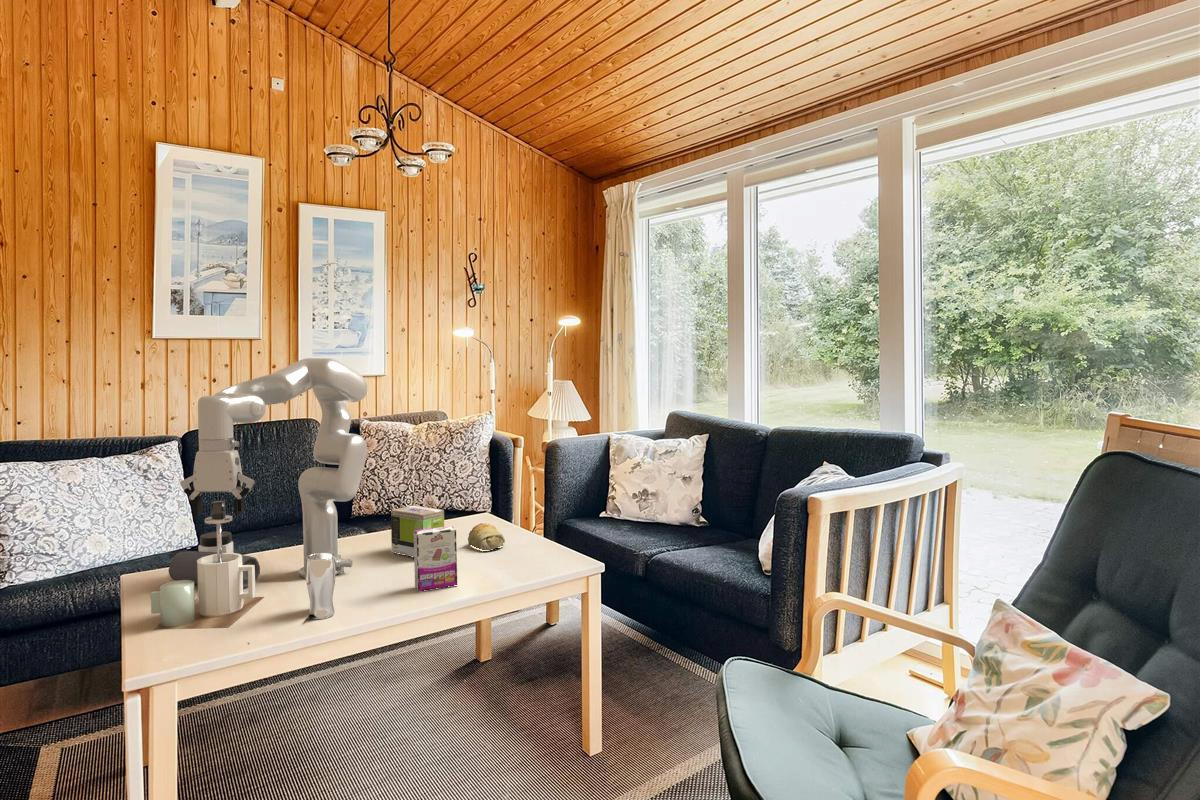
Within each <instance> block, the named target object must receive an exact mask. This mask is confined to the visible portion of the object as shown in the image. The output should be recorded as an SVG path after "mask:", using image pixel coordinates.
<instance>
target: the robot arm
mask: <svg viewBox="0 0 1200 800" xmlns="http://www.w3.org/2000/svg"><path fill="white" fill-rule="evenodd" d="M310 390H312V391H313V394H314V396H315V398H316V399H317V402H318V404H319V406H320V409H321V419H320V423H319V426H318V427H319V428H318V431H317V434H316V439H315V442H314V445H313V451H312V452H313V453H312V455H313V458H314V459H315V461H317V462H318V463H321V464H325V465H326V464H327V465H338V467H337V468H336V467H323V466H315V467H310V468H307V469H305V470H304V471H303V472H302V473H301V474H300V476H299V478H298V482H297V483H298V484H297V485H298V492H299V496H300V502H301V509H302V532H303V533H302V535H303V538H302V539H303V541H302V542H303V566H302V567H301V568H299V570H297V571H298V573H297V574H298V577H300V578H304V579H306V557H307V556H308V555H311V554H315V553H324V552H327V553H333V554H334V557H335V567H336V576H337V574H338V575H340V574H341V573H343V571H344V570H345V568H352V567H353V560H351V558H346V559H343V558H342V554H339V541H338V539H339V537H338V536H339V535H338V534H339V533H338V511H337V507H336V505H335V503H334V502H349V501H351V500H352V499H354V497H355V496H356V495H357V493H358V491H359V488H360V484H361V481H362V480H361V479H362V477H363V472H364V468H365V464H366V461H367V455H368V446H367V443H366V440H365V438H364V437H362V436H361V435H359V434H357V433H349V432H350V429H351V424H352V417H351V413H350V410H349V408H348V405H346V402H347V403H358V402H360V401H362V400H364V399H365V397H366V396H367V393H368V383H367V381H366V379H365V377H364V376H362V374H360V373H359V372H358V371H356V370H354V369H352V368H351V367H349V366H348V365H346V364H344V363H342V362H340V361H339V360H336V359H333V358H329V357H328V358H327V357H326V358H324V357H323V358H321V357H319V358H314V357H313V358H312V357H309V358H303V359H300V360H298V361H295V362H294V363H292V364H290V365H287V366H286V367H284V368H280V369H279V370H277V371H275V372H273V373H270V374H266V375H263V376H258V377H256V378H252V379H248V380H245V381H242V382H238V383H236V384H234V385H231V386H228V387H226V388H225V389H222V390H220V391H218V392H216V393H215V394H214V395H205V396H201V397H199V398H198V400H197V418H198V419H197V420H198V421H197V423H198V425H197V426H198V427H197V428H198V429H197V430H198V451H197V452H196V453H195V454H196V455H195V459H194V465H193V474H192V475H191V476H189V477H187V478H185V479H183V480H181V481H180V482H179V485H180V486H181V489H183V492H184V494H185V495H187V496H188V498H189V500H190V501H191V511H192V512H193V516H194V517H198V516H200V515H202V514H203V511H204V510H203V508H204V507H203V497H201V495H202V494H203V493H229V492H230V493H231V494H232V495H233V496H234V497H235V499H234V500H233V510H234V515H235V516H240V515H241V514H243V512H244V510H245V497H246V496H247V495H248V494H249V493H250V492H252V491H251V490H252V488H253V487H254V485H255V483H256V481H255V479H252V478H250V477H248V476H246V475H244V474H243V472H242V469H243V468H242V465H241V464H242V463H241V458H240V454H239V451H238V450H237V449H235V447H239V446H240V441H239V440H235V437H234V424H235V423H238V424H239V423H240V424H252V423H255V422H258V421H259V420H261V419H262V418H263V417H264V415H265V413H266V411H267V406H269V405H277V404H282V403H287V402H289V401H292V400H293V399H295V398H296V397H298V396H300V395H301V394H304V393H305V392H306V393H307V391H310ZM190 483H193V488H192V487H191V486H190V485H191V484H190ZM243 483H244V484H245V487H244V488H243V489H242V487H243V485H244V484H243Z"/></svg>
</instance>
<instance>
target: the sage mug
mask: <svg viewBox="0 0 1200 800" xmlns="http://www.w3.org/2000/svg"><path fill="white" fill-rule="evenodd" d="M195 596H196V595H195V585H194V581H191V580H178V581H174V580H172V581H169V582H166V583H163V584H161V585H160V586H159V590H158V591H151V592H150V611H151V613H150V614H151V615H152V614H160V624H161V626H163V627H179V626H184V625H187V624H190V623H192V622H193V621H195V600H196V598H195Z"/></svg>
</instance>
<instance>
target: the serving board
mask: <svg viewBox="0 0 1200 800" xmlns="http://www.w3.org/2000/svg"><path fill="white" fill-rule="evenodd" d="M264 598H265V596H255V597H254V598H247V599H243V608H242V609H241V610H240V611H238V612H235V613H233V614H229V615H225V616H218V617H204V616H201V615H199V609H198V597H197V598H195V621H193V622H192V623H190V624H187V625H184V626H179V627H163V626H161V623H159V624H158V625H156V626H155V627H154V628H152V630H187V629H188V630H193V629H195V630H197V629H198V630H199V629H229V628H230V627H231V626H233V625H234V624H235V623H236V622H237V621H239V620H240V619H241V618H243V616H244V615H246V613H248V612H249V611H250V610H251V609H252V608H254V607H255V606H256V605H257V604H258V603H259V602H261V601H262V600H263V599H264Z"/></svg>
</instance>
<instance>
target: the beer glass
mask: <svg viewBox="0 0 1200 800" xmlns="http://www.w3.org/2000/svg"><path fill="white" fill-rule="evenodd" d="M336 576H337V575H336V567H335V557H334V554H333V553H327V552H324V553H315V554H311V555H308V556H307V557H306V578H305V583H306V589H307V592H308V598H309V609H308V613H309V614H308V618H309V619H310V620H325V619H328V618H332V617H333V616H334V615H335V607H334V601H333V600H334V598H333V596H334V590H335V585H336V584H335V583H336Z"/></svg>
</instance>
